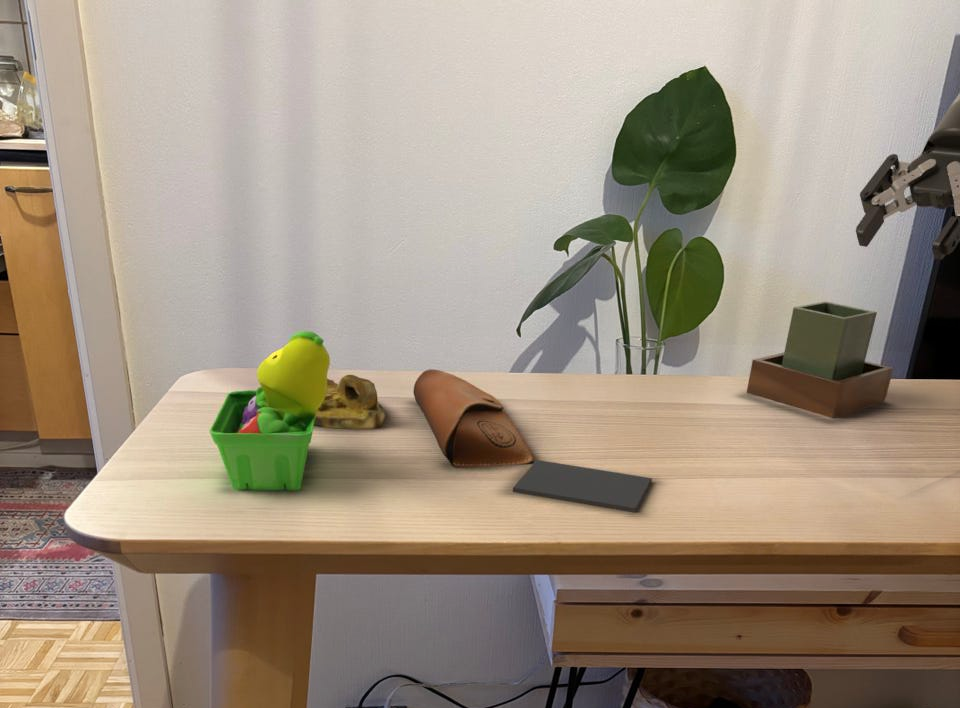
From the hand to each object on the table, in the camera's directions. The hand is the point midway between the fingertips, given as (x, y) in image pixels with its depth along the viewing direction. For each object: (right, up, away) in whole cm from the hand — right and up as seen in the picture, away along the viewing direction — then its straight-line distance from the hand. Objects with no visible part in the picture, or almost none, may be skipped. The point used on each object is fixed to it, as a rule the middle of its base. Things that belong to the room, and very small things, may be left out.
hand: (897, 247), depth 100 cm
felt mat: (-36, -29, -22) cm, 51 cm away
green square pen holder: (-8, -15, +2) cm, 17 cm away
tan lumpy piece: (-59, -19, -8) cm, 63 cm away
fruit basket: (-61, -28, -22) cm, 70 cm away
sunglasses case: (-45, -22, -12) cm, 51 cm away
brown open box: (-8, -16, +2) cm, 18 cm away
